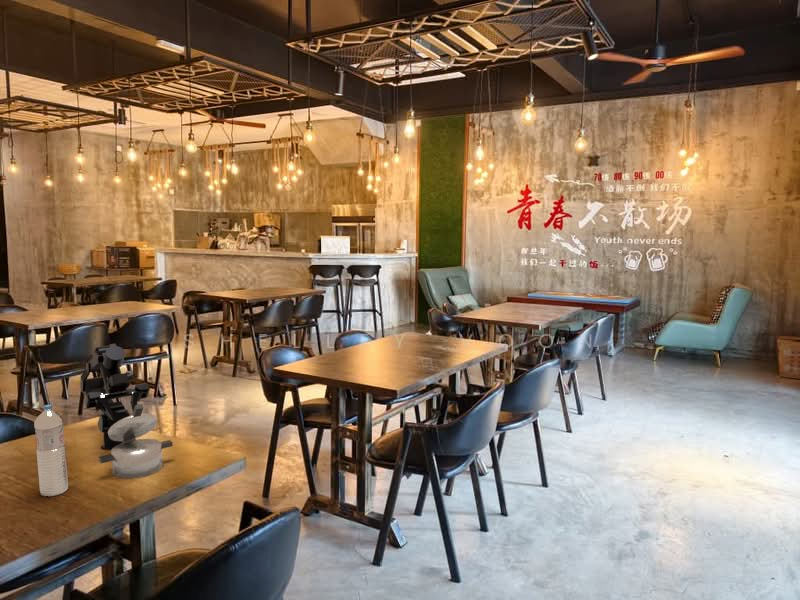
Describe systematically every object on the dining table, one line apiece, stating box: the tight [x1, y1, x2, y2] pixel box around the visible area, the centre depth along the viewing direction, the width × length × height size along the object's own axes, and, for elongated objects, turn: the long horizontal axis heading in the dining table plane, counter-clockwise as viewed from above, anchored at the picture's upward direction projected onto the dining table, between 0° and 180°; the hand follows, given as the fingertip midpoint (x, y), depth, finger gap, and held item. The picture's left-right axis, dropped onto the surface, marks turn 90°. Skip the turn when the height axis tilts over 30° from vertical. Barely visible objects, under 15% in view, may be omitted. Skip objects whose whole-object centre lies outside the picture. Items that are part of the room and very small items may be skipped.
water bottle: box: [33, 404, 69, 497], centre depth 159 cm, size 7×7×25 cm
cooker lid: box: [108, 403, 158, 441], centre depth 175 cm, size 18×14×2 cm
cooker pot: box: [98, 438, 174, 479], centre depth 176 cm, size 15×21×7 cm
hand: (124, 417), depth 183 cm, fingers open, 6 cm apart
